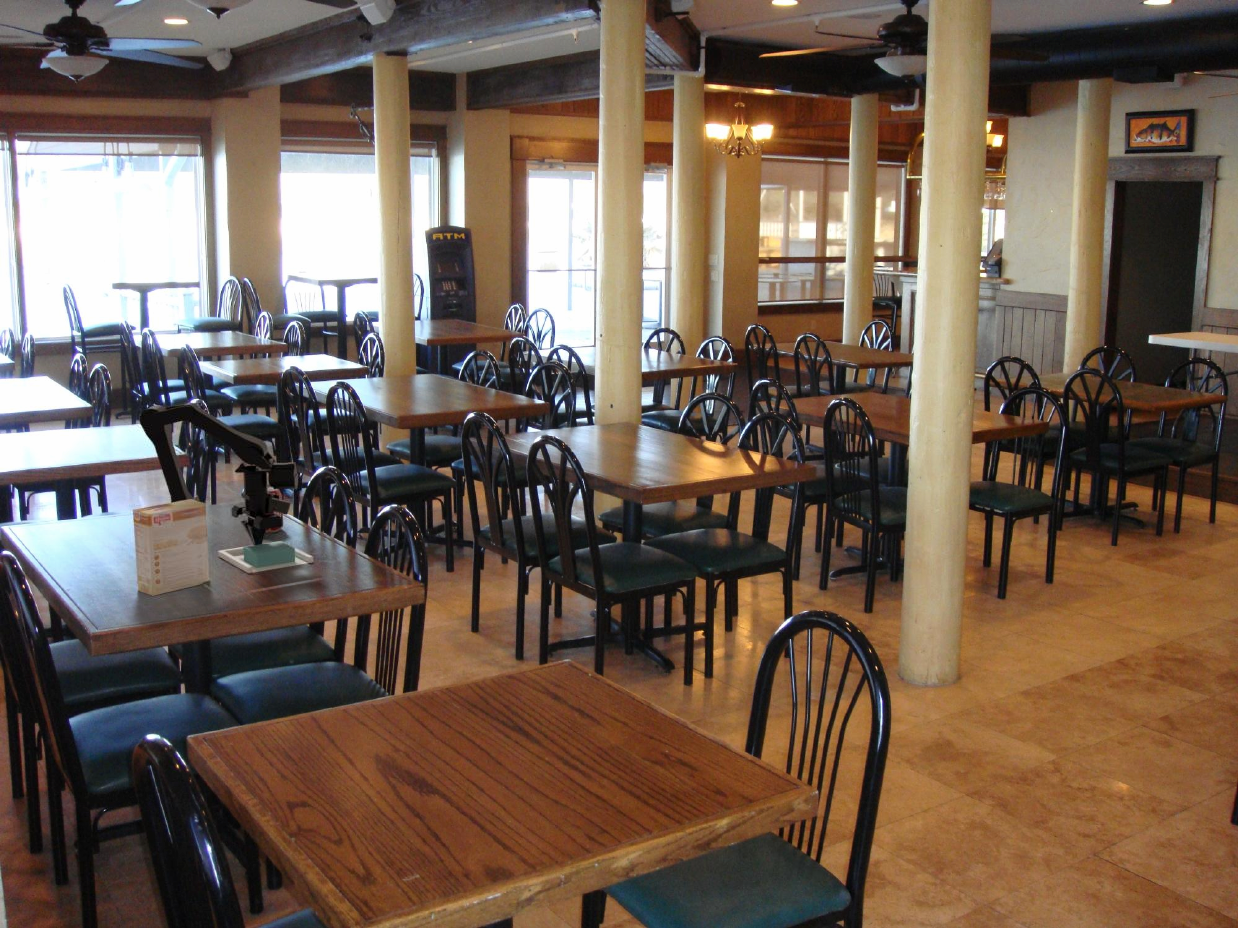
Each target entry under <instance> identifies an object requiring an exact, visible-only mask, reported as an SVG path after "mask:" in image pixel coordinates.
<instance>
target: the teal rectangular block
mask: <svg viewBox="0 0 1238 928" xmlns="http://www.w3.org/2000/svg"><path fill="white" fill-rule="evenodd" d="M278 541H279V542H278ZM278 541H274V542H273V541H272V542H273V543H272V542H267V544H265V543H262V544H260V545H254V546H252V545H248V546H247V545H246V546H247V547H246V546H242V547H243V548H244V561H245V562H247V563H249V564H251V565H252V566H254V567H256V568H261V567H267V566H273V565H278V564H284V563H290V562H295V548H296V547H294V546H292V545H289V544H288V543H286V542H285V541H281V540H278Z"/></svg>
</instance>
